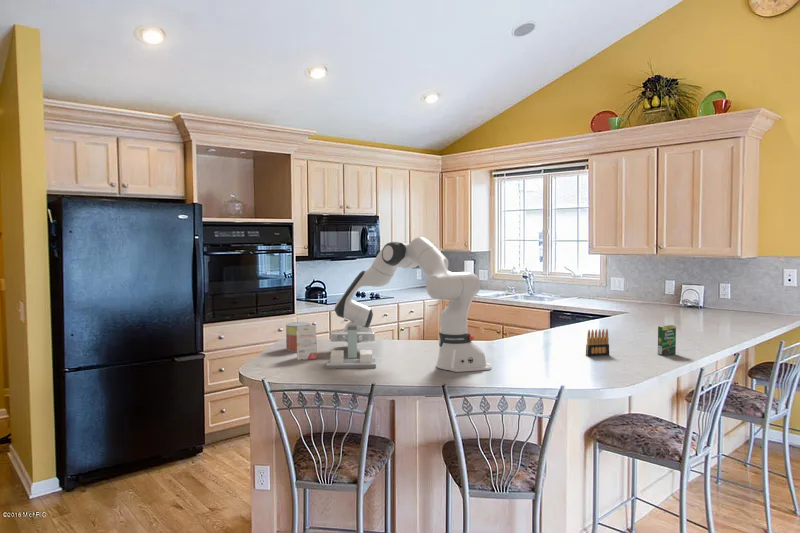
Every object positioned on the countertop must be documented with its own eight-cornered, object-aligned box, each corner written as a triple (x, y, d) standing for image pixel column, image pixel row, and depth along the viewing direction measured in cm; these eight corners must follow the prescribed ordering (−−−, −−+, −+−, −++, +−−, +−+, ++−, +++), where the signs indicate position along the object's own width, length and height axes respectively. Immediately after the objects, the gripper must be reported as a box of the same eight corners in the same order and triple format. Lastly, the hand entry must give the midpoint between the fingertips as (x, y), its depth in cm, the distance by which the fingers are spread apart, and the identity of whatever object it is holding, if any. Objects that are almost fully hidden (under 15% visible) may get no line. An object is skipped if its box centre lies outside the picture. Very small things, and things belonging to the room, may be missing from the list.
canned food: (312, 346, 276) (312, 322, 275) (306, 351, 265) (306, 326, 264) (290, 346, 277) (289, 322, 277) (283, 351, 266) (282, 325, 265)
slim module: (356, 356, 256) (356, 325, 255) (356, 357, 252) (356, 326, 251) (348, 356, 256) (347, 325, 255) (347, 358, 252) (347, 326, 251)
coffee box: (661, 355, 256) (662, 326, 255) (656, 354, 259) (657, 325, 258) (676, 354, 258) (676, 325, 258) (671, 353, 261) (672, 324, 260)
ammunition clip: (587, 356, 255) (588, 329, 254) (585, 355, 256) (586, 329, 256) (609, 355, 257) (610, 329, 256) (607, 354, 259) (607, 328, 258)
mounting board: (375, 361, 245) (375, 349, 245) (375, 367, 234) (375, 355, 233) (328, 361, 244) (328, 349, 244) (326, 368, 232) (326, 356, 232)
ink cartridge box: (316, 356, 255) (316, 323, 254) (316, 359, 250) (316, 325, 249) (296, 357, 253) (296, 324, 252) (297, 359, 248) (296, 326, 247)
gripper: (330, 327, 265) (328, 332, 252) (374, 327, 267) (375, 332, 253) (330, 341, 266) (328, 346, 252) (374, 340, 267) (375, 346, 253)
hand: (352, 339), depth 252 cm, fingers closed on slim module, 4 cm apart
